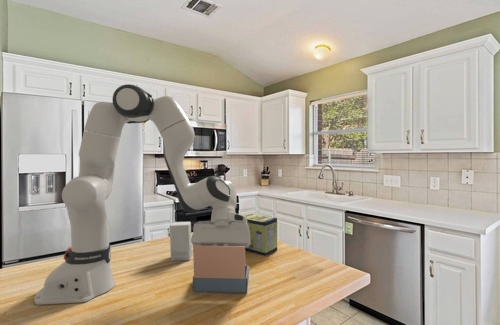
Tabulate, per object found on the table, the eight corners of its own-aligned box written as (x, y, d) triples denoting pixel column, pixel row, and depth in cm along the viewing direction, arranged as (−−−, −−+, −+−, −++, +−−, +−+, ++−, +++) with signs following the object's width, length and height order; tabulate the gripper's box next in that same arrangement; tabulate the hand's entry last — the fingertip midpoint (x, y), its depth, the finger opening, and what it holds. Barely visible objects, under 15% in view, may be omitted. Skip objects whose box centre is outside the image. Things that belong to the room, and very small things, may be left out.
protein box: (251, 243, 142) (251, 213, 141) (277, 250, 132) (277, 217, 132) (238, 249, 133) (238, 217, 133) (266, 256, 124) (266, 222, 123)
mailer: (192, 292, 92) (192, 277, 92) (200, 277, 103) (200, 264, 103) (247, 293, 91) (247, 278, 91) (248, 278, 102) (248, 265, 102)
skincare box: (192, 255, 125) (191, 221, 125) (189, 261, 119) (189, 225, 118) (173, 255, 125) (173, 221, 124) (169, 261, 118) (169, 225, 118)
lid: (194, 277, 91) (194, 277, 91) (193, 245, 90) (193, 246, 89) (245, 278, 91) (245, 278, 90) (245, 246, 89) (244, 246, 89)
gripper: (192, 216, 98) (186, 254, 88) (250, 216, 97) (250, 254, 88) (195, 225, 102) (189, 262, 93) (251, 225, 102) (250, 262, 92)
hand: (219, 258), depth 90 cm, fingers closed, pressing on lid
